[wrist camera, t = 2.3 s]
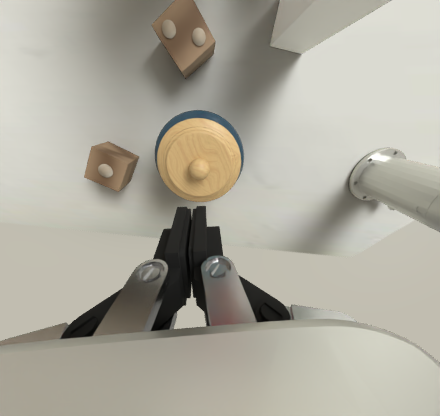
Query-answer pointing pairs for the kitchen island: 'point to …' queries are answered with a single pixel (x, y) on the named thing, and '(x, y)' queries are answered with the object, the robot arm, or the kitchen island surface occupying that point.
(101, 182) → the dotted block
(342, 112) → the kitchen island surface
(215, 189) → the canister
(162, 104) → the kitchen island surface
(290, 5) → the milk
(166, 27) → the dotted block
